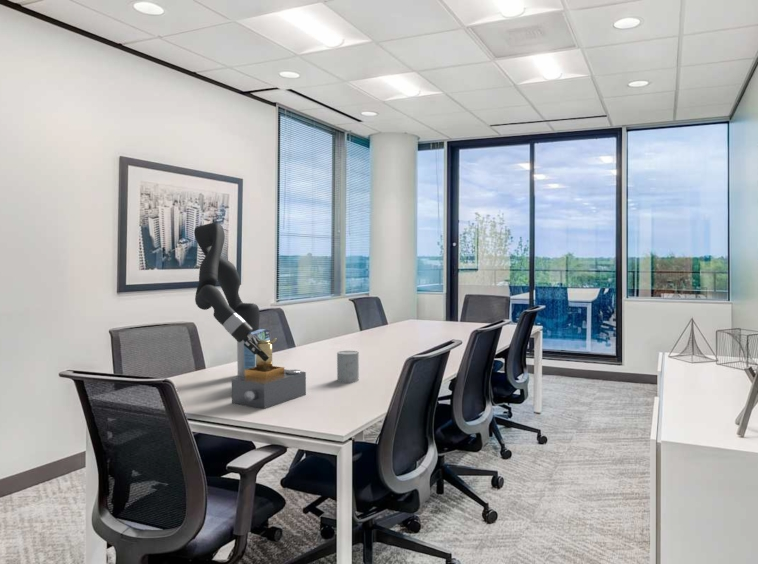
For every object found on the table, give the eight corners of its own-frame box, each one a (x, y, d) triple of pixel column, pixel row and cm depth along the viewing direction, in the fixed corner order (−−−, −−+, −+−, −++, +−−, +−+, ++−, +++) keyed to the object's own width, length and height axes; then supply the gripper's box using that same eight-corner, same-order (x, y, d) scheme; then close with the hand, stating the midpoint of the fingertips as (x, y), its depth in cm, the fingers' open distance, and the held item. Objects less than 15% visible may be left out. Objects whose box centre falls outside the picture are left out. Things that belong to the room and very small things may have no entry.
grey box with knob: (274, 389, 230) (274, 361, 230) (305, 394, 222) (305, 365, 222) (225, 404, 207) (225, 373, 207) (258, 410, 199) (258, 378, 199)
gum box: (255, 391, 228) (254, 335, 227) (243, 391, 228) (242, 335, 227) (271, 381, 247) (270, 329, 246) (259, 380, 248) (259, 328, 247)
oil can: (254, 372, 214) (254, 339, 213) (258, 369, 220) (258, 336, 219) (275, 372, 214) (274, 339, 213) (278, 369, 220) (277, 336, 219)
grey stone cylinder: (362, 379, 251) (362, 351, 250) (352, 383, 242) (352, 355, 241) (343, 377, 255) (343, 350, 254) (333, 381, 246) (333, 353, 245)
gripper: (239, 322, 209) (272, 354, 209) (249, 318, 223) (279, 348, 224) (225, 336, 209) (258, 368, 210) (235, 331, 224) (266, 361, 224)
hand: (268, 358), depth 217 cm, fingers closed on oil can, 6 cm apart
